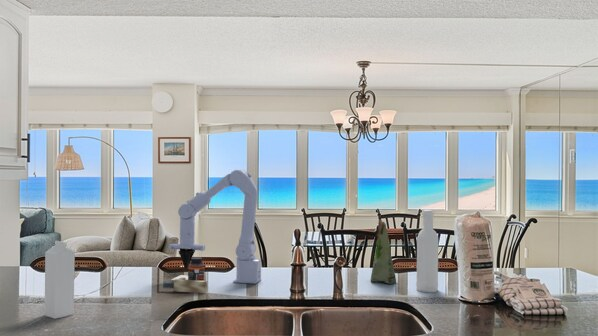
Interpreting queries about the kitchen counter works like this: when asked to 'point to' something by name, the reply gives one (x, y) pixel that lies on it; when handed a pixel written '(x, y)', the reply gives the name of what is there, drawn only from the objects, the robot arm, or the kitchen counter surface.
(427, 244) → the bottle
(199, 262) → the supplement bottle
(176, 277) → the mat
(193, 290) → the corner holder
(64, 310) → the milk
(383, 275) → the pouch
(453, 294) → the kitchen counter surface
